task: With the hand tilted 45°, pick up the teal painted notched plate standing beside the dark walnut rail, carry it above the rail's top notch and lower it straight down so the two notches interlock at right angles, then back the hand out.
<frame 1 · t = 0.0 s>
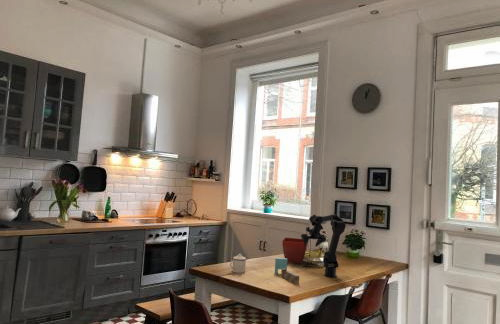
hand: (310, 246, 302), 15 cm above the table, tool tilted 35°, fingers open, 9 cm apart
walnut rail: (285, 277, 260), on the table
teal notched plate: (280, 273, 272), on the table
plant pot: (294, 261, 317), on the table
teacup with lid: (236, 271, 270), on the table
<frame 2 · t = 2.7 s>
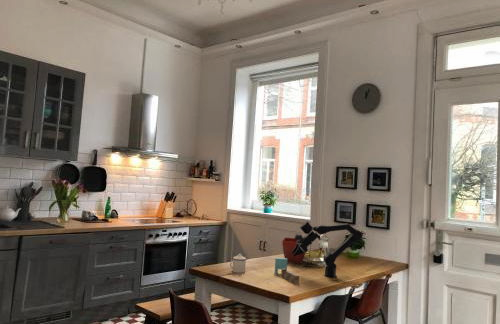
hand: (292, 254, 273), 13 cm above the table, tool tilted 45°, fingers open, 9 cm apart
nothing on the table moved.
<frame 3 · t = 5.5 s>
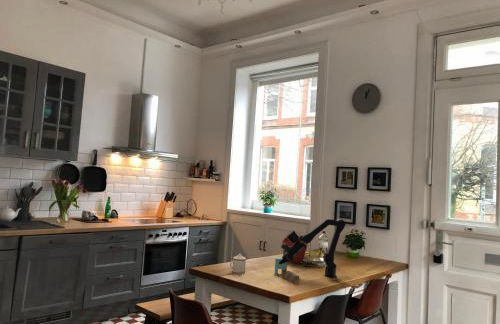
hand: (279, 263, 273), 7 cm above the table, tool tilted 45°, fingers closed on teal notched plate, 2 cm apart
teal notched plate: (280, 273, 272), on the table, touching gripper
everything else where it was.
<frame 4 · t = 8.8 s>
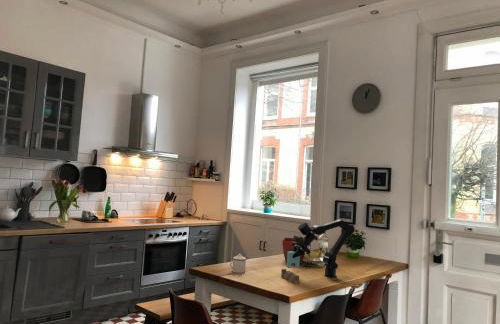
hand: (291, 257, 262), 13 cm above the table, tool tilted 45°, fingers closed on teal notched plate, 2 cm apart
teal notched plate: (292, 267, 262), point 7 cm above the table, touching gripper
everything else where it was.
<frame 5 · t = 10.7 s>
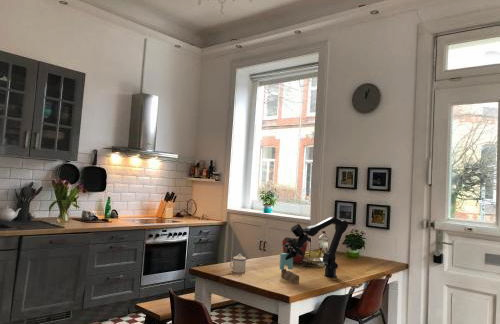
hand: (284, 259, 260), 12 cm above the table, tool tilted 45°, fingers closed on teal notched plate, 2 cm apart
teal notched plate: (286, 269, 260), point 6 cm above the table, touching gripper
everything else where it was.
when the fingers open (7 cm above the table, at t = 12.2 s): teal notched plate stays where it is, on the table.
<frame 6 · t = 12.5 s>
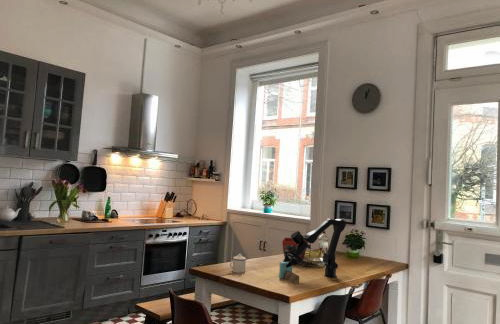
hand: (284, 266, 260), 8 cm above the table, tool tilted 45°, fingers open, 6 cm apart
teal notched plate: (285, 277, 260), on the table
everything else where it was.
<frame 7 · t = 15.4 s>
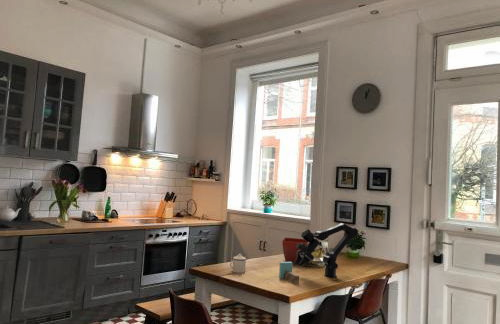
hand: (297, 265, 264), 8 cm above the table, tool tilted 40°, fingers open, 9 cm apart
nothing on the table moved.
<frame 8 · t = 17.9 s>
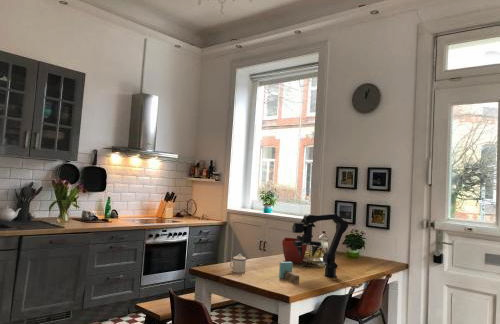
hand: (306, 256, 268), 13 cm above the table, tool pointing down, fingers open, 9 cm apart
nothing on the table moved.
at the end: teal notched plate 0.1 cm off-centre on the walnut rail, point 0.0 cm above the walnut rail's base; teal notched plate tilted 0°; the gripper is holding nothing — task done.
